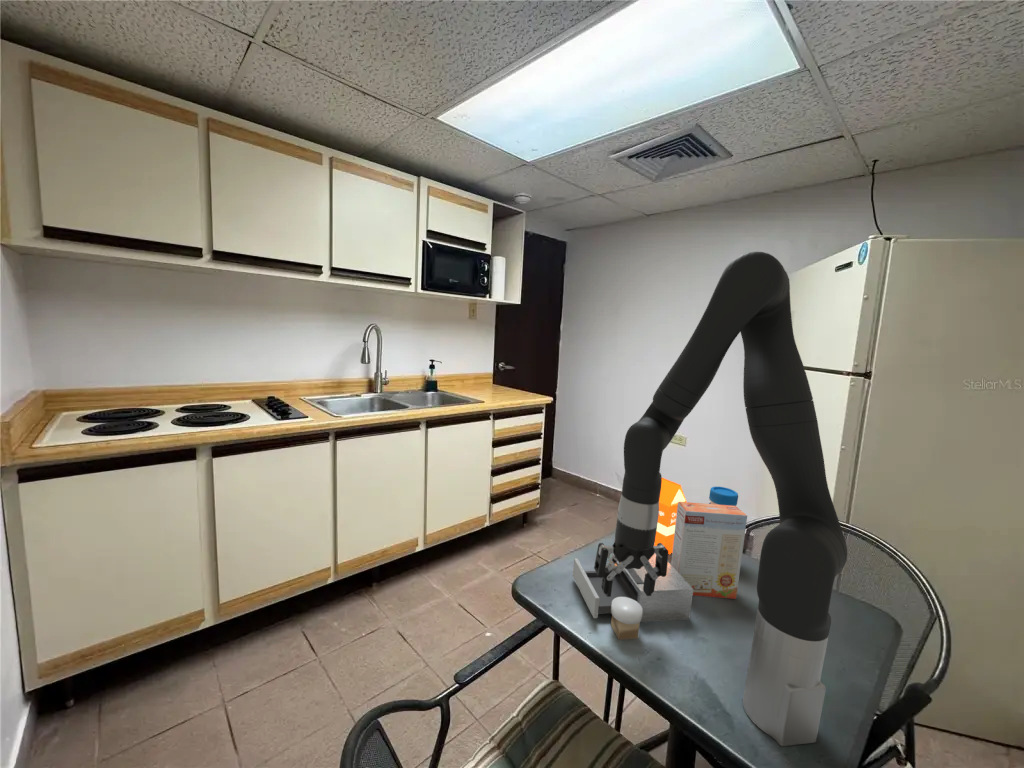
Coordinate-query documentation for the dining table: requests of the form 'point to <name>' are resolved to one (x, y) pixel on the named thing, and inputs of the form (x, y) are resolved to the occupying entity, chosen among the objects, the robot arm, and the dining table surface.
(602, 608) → the grey drawer
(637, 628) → the tan block
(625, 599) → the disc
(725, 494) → the beverage bottle
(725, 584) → the cracker box
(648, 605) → the block
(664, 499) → the orange juice
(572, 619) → the dining table surface
